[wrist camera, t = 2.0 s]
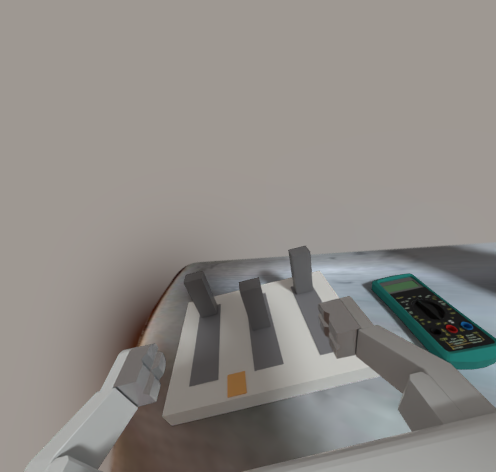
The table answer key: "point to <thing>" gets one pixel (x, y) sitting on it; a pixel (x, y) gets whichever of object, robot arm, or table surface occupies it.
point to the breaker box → (256, 354)
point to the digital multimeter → (437, 322)
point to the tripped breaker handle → (254, 303)
